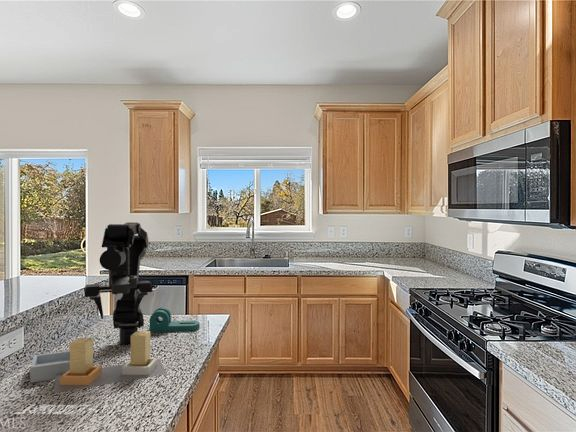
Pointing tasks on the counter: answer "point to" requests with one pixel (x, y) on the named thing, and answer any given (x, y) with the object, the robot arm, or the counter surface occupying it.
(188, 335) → the counter surface
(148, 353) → the block
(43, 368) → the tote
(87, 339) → the block
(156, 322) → the bracket
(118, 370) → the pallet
